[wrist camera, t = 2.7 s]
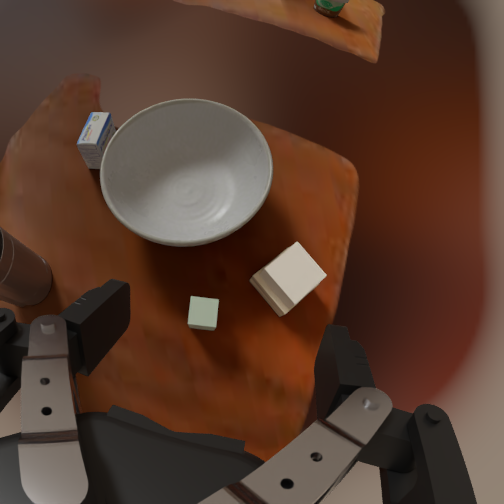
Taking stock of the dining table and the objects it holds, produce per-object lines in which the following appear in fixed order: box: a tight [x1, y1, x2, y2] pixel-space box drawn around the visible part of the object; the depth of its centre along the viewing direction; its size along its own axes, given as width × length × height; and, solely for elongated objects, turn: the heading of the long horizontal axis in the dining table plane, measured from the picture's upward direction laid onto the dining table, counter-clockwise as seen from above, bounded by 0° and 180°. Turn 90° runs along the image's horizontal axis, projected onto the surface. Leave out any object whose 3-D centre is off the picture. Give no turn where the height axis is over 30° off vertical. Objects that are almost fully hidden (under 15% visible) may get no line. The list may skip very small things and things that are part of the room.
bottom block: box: [249, 247, 320, 317], centre depth 53 cm, size 8×8×4 cm
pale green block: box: [188, 296, 219, 331], centre depth 48 cm, size 4×4×8 cm
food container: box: [314, 0, 349, 17], centre depth 83 cm, size 12×6×10 cm, turn 75°
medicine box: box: [77, 112, 116, 169], centre depth 53 cm, size 8×4×9 cm, turn 175°
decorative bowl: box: [100, 99, 273, 247], centre depth 52 cm, size 27×27×12 cm
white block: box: [260, 241, 327, 308], centre depth 50 cm, size 7×7×4 cm
